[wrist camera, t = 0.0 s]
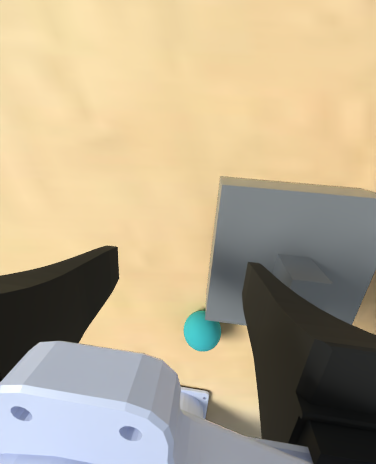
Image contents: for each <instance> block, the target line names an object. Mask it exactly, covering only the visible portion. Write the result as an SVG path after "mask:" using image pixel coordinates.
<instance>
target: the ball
mask: <svg viewBox="0 0 376 464" xmlns="http://www.w3.org/2000/svg"><path fill="white" fill-rule="evenodd" d="M184 336H185V339H186V341H187V343H188V344H189V345H190V346H191V347H192V348H193V349H195V350H197V351H209V350H211V349H213V348H214V347H215V346H216V345H217V343H218V342H219V340H220V337H221V326H220V323H219V322H217V321H209V320H205V311H197V312H194V313H193V314H191V315H190V316H189V317H188V318H187V320H186V322H185V325H184Z"/></svg>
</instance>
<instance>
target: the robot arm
mask: <svg viewBox="0 0 376 464" xmlns="http://www.w3.org/2000/svg"><path fill="white" fill-rule="evenodd" d="M118 279H119V267H118V247H115V246H103V247H100V248H97V249H94V250H92V251H89V252H86V253H84V254H81V255H78V256H76V257H73V258H70V259H67V260H64V261H61V262H58V263H55V264H52V265H48V266H45V267H41V268H37V269H33V270H28V271H23V272H18V273H13V274H8V275H2V276H0V464H376V335H374V334H371V333H369V332H366V331H364V330H362V329H360V328H357V327H355V326H353V325H351V324H348V323H346V322H344V321H342V320H340V319H338V318H336V317H334V316H332V315H331V314H329V313H327V312H325V311H323V310H321V309H320V308H318V307H316V306H315V305H313V304H311V303H310V302H308V301H307V300H305V299H304V298H302V297H301V296H299V295H298V294H297V293H295V292H294V291H293V290H291V289H290V288H289V287H287V286H286V285H285V284H284V283H282V282H281V281H280V280H279V279H278V278H276V277H275V276H274V275H273V274H272V273H271V272H270V271H269V270H267V269H266V268H265V267H264V266H263V265H262V264H260V263H254V262H248V264H247V269H246V275H245V280H244V285H243V290H242V302H243V311H244V316H245V320H246V325H247V329H248V333H249V338H250V342H251V346H252V351H253V356H254V364H255V372H256V381H257V390H258V399H259V410H260V421H261V433H262V439H259V438H254V437H248V436H244V435H242V434H239V433H237V432H235V431H232V430H230V429H227V428H225V427H223V426H220V425H218V424H215V423H213V422H211V421H208V420H206V419H205V418H206V412H207V406H208V399H209V392H208V391H204V390H198V389H192V388H186V387H181V386H180V382H179V379H178V375H177V373H176V372H175V371H174V370H173V369H171V368H170V367H169V366H168V365H167V364H166V363H165V362H164V361H163V360H161V359H159V358H156V357H153V356H150V355H147V354H144V353H138V352H131V351H125V350H118V349H112V348H105V347H98V346H92V345H85V344H79V341H80V340H81V338H82V336H83V334H84V332H85V331H86V329H87V328H88V326H89V325H90V323H91V322H92V320H93V319H94V318H95V316H96V315H97V313H98V312H99V311H100V309H101V308H102V306H103V305H104V303H105V302H106V301H107V299H108V298H109V296H110V295H111V293H112V291H113V290H114V288H115V286H116V284H117V282H118Z"/></svg>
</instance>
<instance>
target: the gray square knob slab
mask: <svg viewBox="0 0 376 464" xmlns="http://www.w3.org/2000/svg"><path fill="white" fill-rule="evenodd" d="M248 262H254V263H260V264H262V265H263V266H264V267H265V268H266V269H267V270H269V271H270V272H271V273H272V274H273V275H274V276H275V277H276V278H278V279H279V280H280V281H281V282H282V283H284V284H285V285H286V286H287V287H289V288H290V289H291V290H293V291H294V292H295V293H297V294H298V295H299V296H301V297H302V298H304V299H305V300H307V301H308V302H310V303H311V304H313V305H315V306H316V307H318V308H320V309H321V310H323V311H325V312H327V313H329V314H331V315H332V316H334V317H336V318H338V319H340V320H342V321H344V322H346V323H348V324H351V325H352V323H353V321H354V318H355V316H356V314H357V312H358V309H359V307H360V305H361V302H362V300H363V298H364V295H365V293H366V291H367V289H368V286H369V284H370V282H371V279H372V277H373V275H374V272H375V270H376V193H375V192H371V191H368V190H364V189H361V188H349V187H338V186H326V185H315V184H303V183H291V182H280V181H268V180H257V179H245V178H233V177H222V176H220V183H219V191H218V199H217V208H216V216H215V224H214V232H213V241H212V249H211V257H210V265H209V274H208V282H207V293H206V311H205V320H209V321H217V322H224V323H231V324H239V325H246V320H245V316H244V311H243V302H242V290H243V285H244V280H245V275H246V269H247V264H248ZM246 326H247V325H246Z"/></svg>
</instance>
